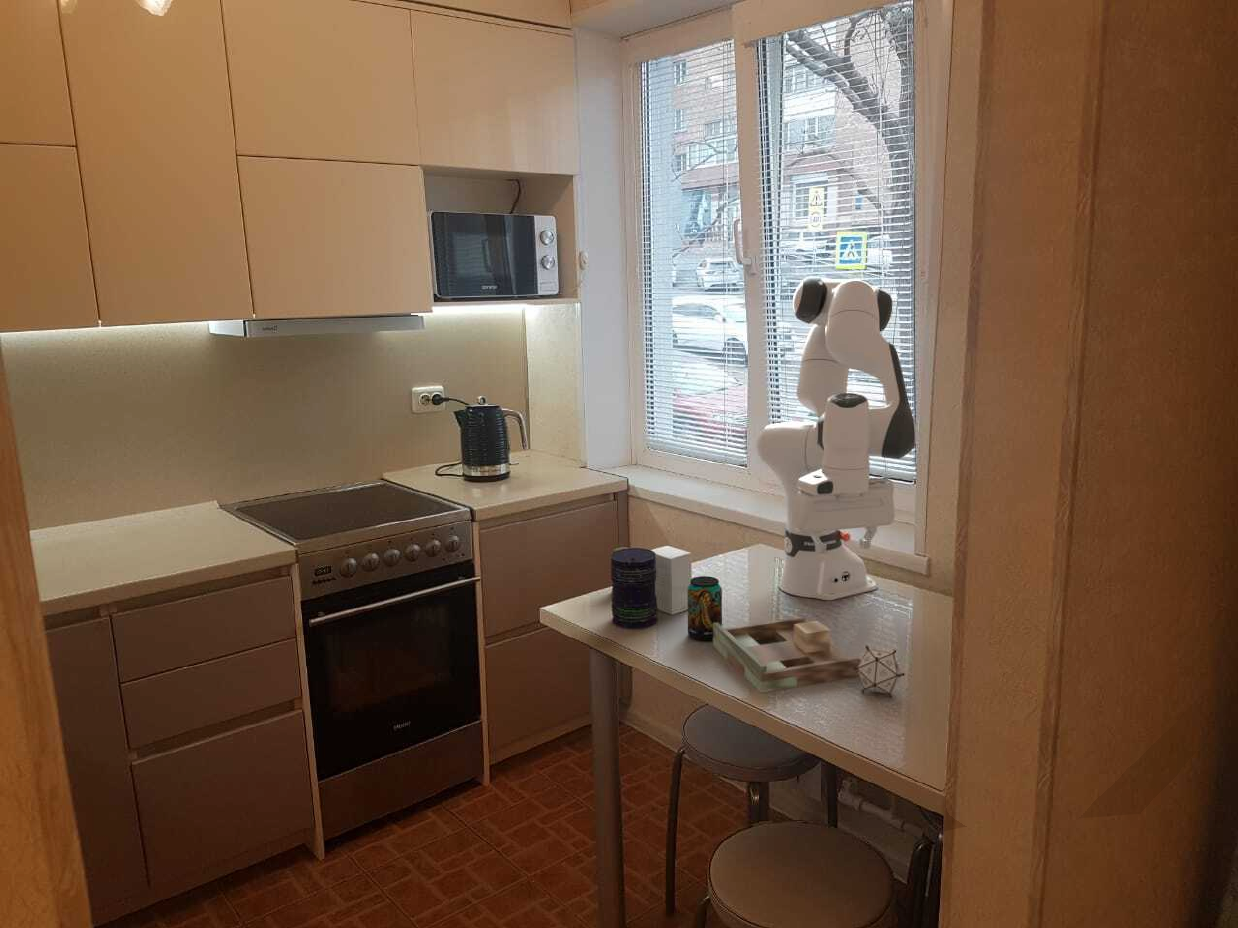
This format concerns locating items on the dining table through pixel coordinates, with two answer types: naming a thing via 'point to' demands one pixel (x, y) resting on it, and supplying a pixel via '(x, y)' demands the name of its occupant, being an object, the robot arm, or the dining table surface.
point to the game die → (878, 671)
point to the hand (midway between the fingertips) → (842, 550)
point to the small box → (672, 579)
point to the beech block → (811, 636)
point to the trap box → (779, 656)
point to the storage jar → (634, 588)
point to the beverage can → (704, 607)
